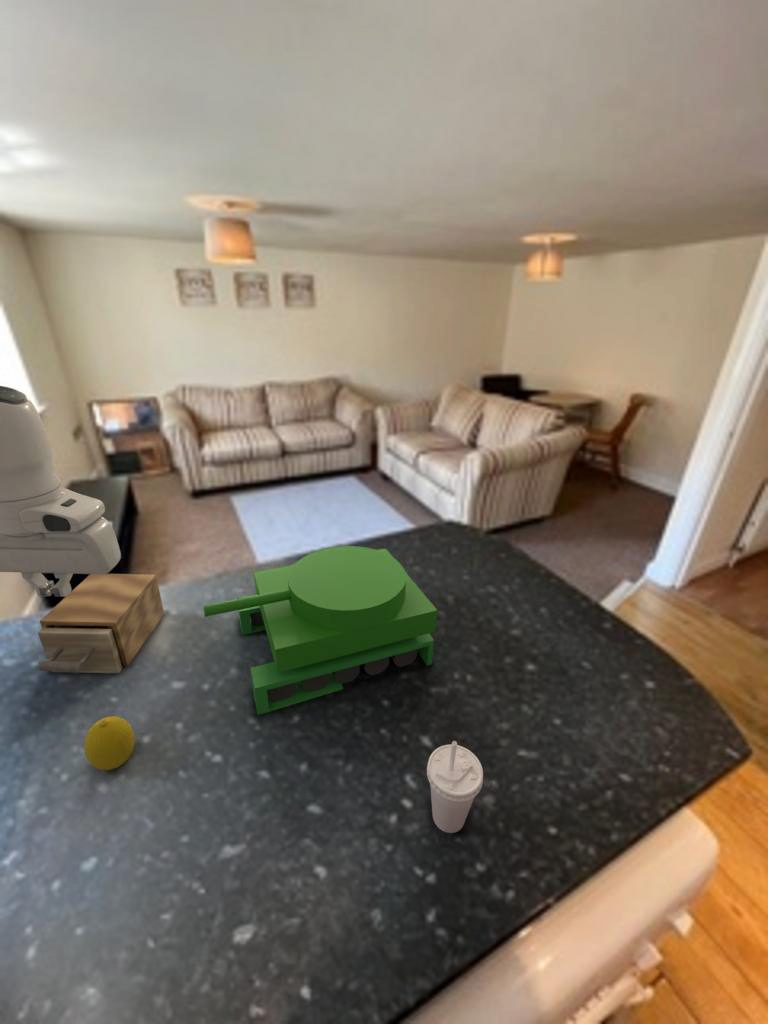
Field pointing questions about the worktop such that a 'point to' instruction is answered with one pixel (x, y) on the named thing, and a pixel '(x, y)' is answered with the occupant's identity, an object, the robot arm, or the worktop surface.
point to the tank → (332, 622)
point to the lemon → (109, 743)
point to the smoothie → (453, 785)
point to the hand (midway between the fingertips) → (55, 594)
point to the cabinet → (113, 608)
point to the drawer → (80, 649)
